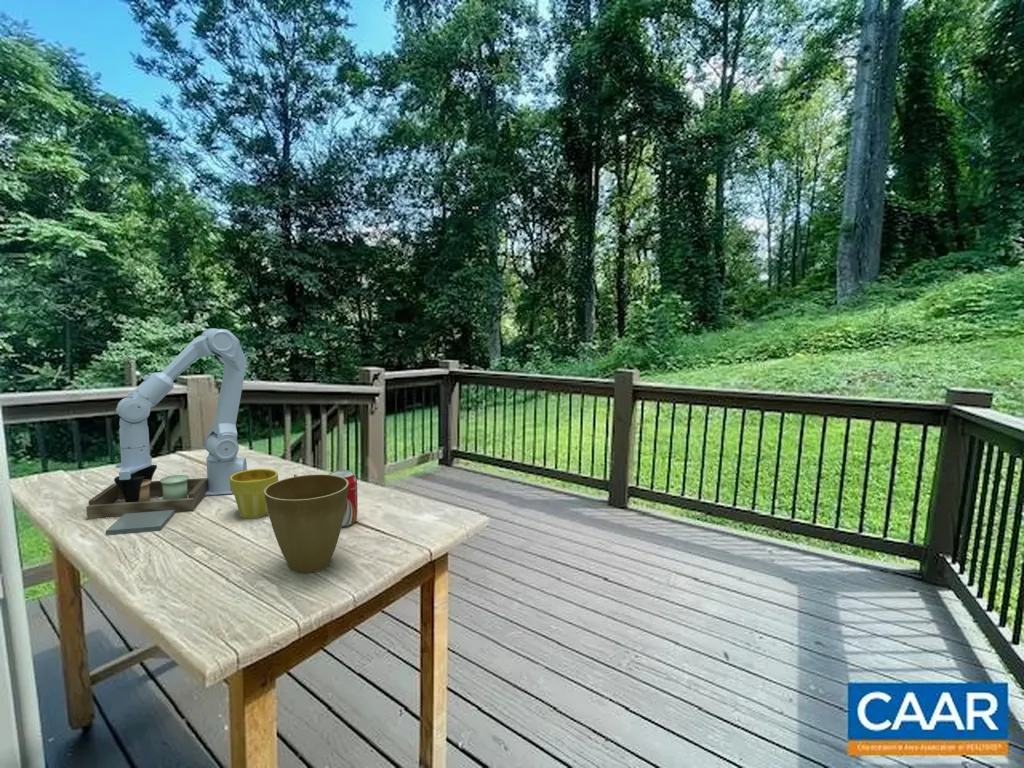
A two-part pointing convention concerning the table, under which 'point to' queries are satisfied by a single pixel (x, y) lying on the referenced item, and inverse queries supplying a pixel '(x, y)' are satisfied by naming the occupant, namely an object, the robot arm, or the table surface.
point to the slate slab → (141, 522)
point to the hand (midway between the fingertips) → (138, 499)
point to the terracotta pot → (145, 490)
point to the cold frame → (106, 507)
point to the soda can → (349, 496)
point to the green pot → (174, 487)
